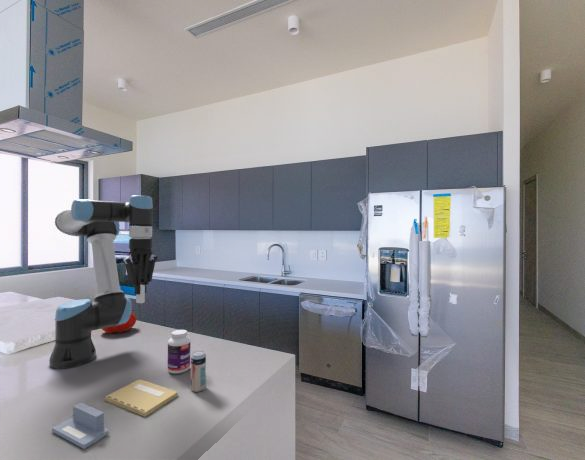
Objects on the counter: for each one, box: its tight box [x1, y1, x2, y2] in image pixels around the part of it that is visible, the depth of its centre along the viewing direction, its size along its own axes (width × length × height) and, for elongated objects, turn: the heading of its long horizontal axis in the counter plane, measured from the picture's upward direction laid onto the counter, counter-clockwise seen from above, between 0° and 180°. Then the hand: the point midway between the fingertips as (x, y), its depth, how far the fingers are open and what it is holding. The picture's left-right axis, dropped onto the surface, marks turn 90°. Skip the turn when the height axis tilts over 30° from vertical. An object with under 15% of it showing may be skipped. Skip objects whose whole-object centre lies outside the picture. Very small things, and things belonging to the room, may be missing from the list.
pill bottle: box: [167, 329, 191, 375], centre depth 113 cm, size 8×8×14 cm
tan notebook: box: [104, 379, 179, 418], centre depth 94 cm, size 18×12×1 cm, turn 65°
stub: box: [51, 402, 110, 450], centre depth 78 cm, size 14×6×5 cm, turn 65°
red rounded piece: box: [101, 311, 137, 334], centre depth 154 cm, size 14×16×10 cm
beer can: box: [190, 350, 207, 393], centre depth 100 cm, size 5×5×12 cm
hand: (140, 302), depth 109 cm, fingers closed
